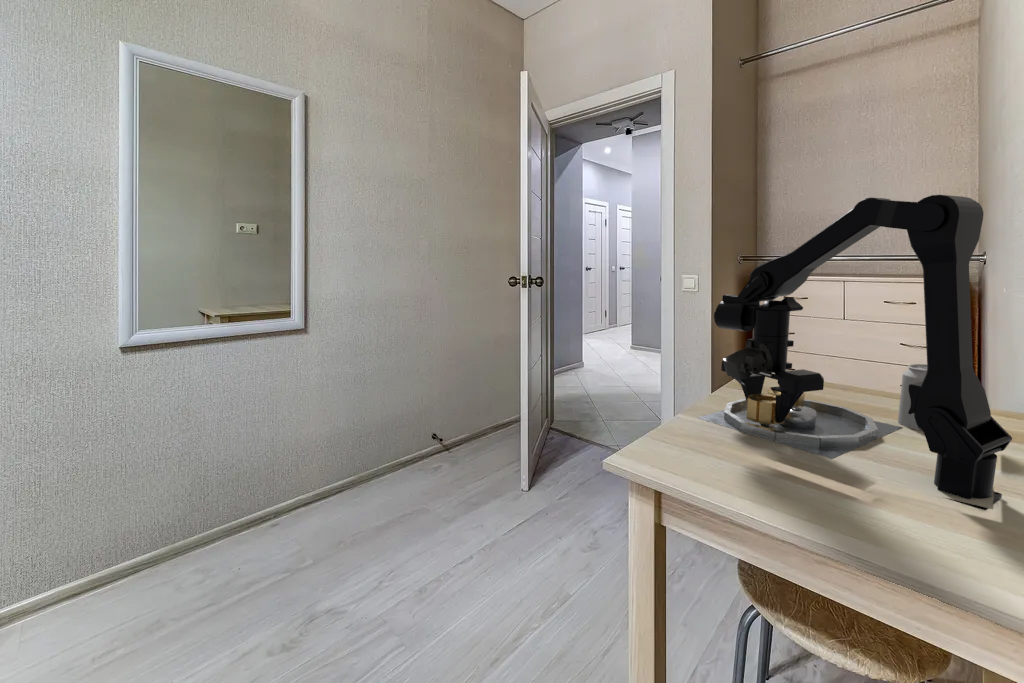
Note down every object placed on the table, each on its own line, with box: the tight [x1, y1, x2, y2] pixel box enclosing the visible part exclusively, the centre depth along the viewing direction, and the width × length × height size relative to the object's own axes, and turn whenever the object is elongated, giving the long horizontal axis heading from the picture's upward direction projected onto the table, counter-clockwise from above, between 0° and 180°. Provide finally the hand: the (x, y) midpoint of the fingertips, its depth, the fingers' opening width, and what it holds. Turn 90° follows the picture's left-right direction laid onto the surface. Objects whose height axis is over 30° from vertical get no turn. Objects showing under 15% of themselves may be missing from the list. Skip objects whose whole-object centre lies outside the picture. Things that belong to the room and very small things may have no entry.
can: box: [897, 363, 927, 431], centre depth 88 cm, size 8×8×12 cm
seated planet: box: [767, 388, 806, 406], centre depth 99 cm, size 6×6×4 cm
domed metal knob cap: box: [782, 405, 816, 428], centre depth 92 cm, size 7×7×3 cm
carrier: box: [696, 397, 904, 460], centre depth 92 cm, size 25×25×4 cm
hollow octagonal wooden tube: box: [747, 393, 785, 425], centre depth 90 cm, size 6×6×4 cm
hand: (765, 417), depth 90 cm, fingers closed on hollow octagonal wooden tube, 6 cm apart
